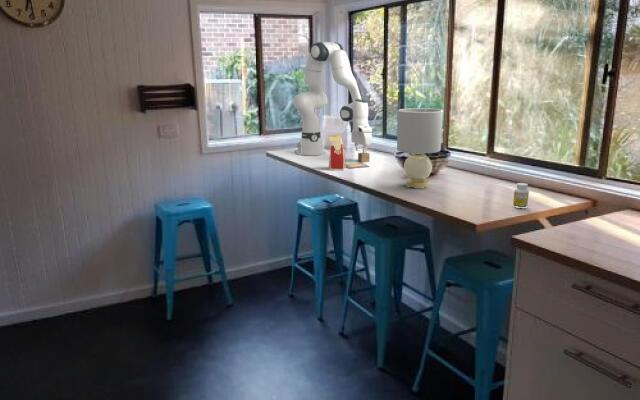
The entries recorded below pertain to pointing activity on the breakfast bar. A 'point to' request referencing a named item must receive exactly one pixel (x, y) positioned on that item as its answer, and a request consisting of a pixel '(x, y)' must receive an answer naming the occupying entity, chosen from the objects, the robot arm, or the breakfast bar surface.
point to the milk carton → (336, 153)
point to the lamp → (419, 142)
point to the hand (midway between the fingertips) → (361, 151)
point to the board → (355, 165)
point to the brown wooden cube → (363, 157)
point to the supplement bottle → (521, 195)
